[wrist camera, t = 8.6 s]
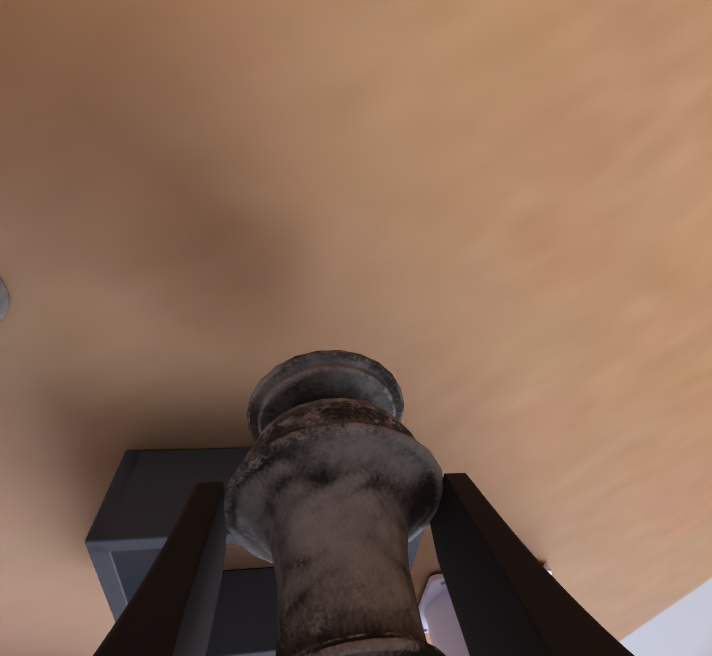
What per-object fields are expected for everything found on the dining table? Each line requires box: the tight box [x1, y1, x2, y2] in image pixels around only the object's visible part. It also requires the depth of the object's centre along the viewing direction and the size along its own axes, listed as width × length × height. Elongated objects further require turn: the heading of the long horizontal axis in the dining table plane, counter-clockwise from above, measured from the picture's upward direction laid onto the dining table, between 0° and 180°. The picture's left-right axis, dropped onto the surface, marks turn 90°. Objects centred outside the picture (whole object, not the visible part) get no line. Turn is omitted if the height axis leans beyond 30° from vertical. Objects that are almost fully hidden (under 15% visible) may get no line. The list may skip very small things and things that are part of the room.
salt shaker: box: [224, 350, 446, 656], centre depth 9 cm, size 6×6×12 cm
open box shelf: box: [85, 448, 424, 656], centre depth 21 cm, size 14×12×4 cm
